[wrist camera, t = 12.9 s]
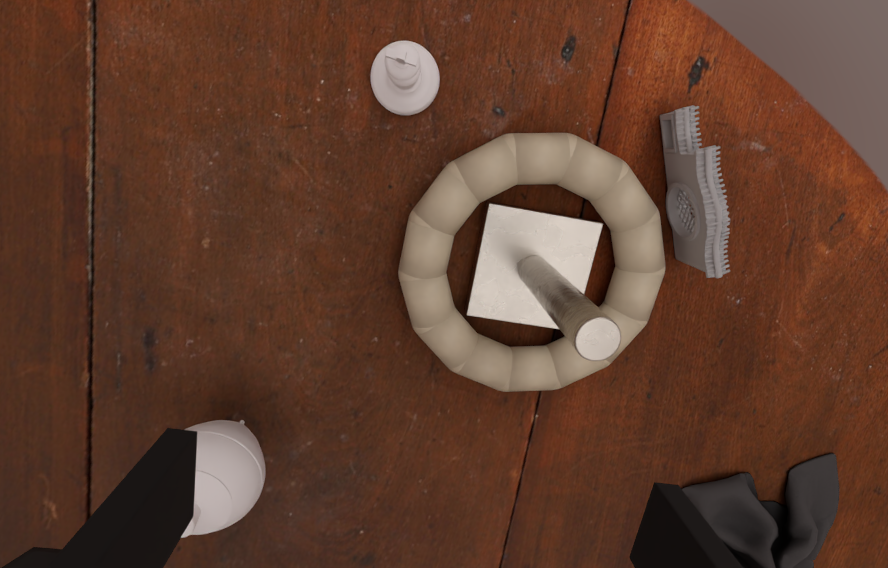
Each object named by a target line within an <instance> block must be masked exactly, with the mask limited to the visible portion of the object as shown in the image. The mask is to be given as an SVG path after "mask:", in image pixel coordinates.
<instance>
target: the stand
mask: <svg viewBox="0 0 888 568" xmlns="http://www.w3.org/2000/svg"><path fill="white" fill-rule="evenodd" d="M602 226H603V223H601V222H599V221H597V220H591V219H586V218H580V217H574V216H569V215H563V214H557V213H552V212H546V211H540V210H535V209H529V208H523V207H518V206H512V205H506V204H501V203H495V202H489V201H486V205H485V210H484V215H483V220H482V225H481V230H480V235H479V240H478V245H477V250H476V255H475V260H474V265H473V270H472V275H471V280H470V285H469V290H468V295H467V300H466V304H465V312H466V315H467V316H473V317H480V318H486V319H493V320H500V321H506V322H513V323H519V324H526V325H533V326H539V327H546V328H553V329H559V330H561V332H562V333H563V334H564V335H565V337H566V338H567V339H568V341H569V342H570V343H571V345H572V346H573V347H574V348H575V350H576V351H577V352H578V354H579V355H580V356H581V357H583V358H585V359H587V360H590V361H601V360H605V359H607V358H609V357H610V356H612V355H613V354H614V353H615V352H616V351H617V349H618V347H619V345H620V342H621V331H620V329H619V327H618V325H617V324H616V323H615V322H614V321H613V320H612V319H611V318H610V317H609V316H607V315H606V314H605V313H604V312H603V311H602V310H601V309H600V308H599V307H597V306H596V305H595V304H594V303H593V302H592V301H591V300H590V299H588V298H587V297H586V296H585V295H584V294H585V290H586V286H587V283H588V279H589V275H590V271H591V268H592V264H593V260H594V256H595V253H596V249H597V245H598V241H599V238H600V234H601V230H602Z"/></svg>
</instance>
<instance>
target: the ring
mask: <svg viewBox="0 0 888 568" xmlns="http://www.w3.org/2000/svg"><path fill="white" fill-rule="evenodd" d="M530 184H557V185H559V186H561V187H563V188H565V189H567V190H569V191H571V192H573V193H575V194H577V195H579V196H581V197H583V198H585V199H587V200H589V201H590V202H591V204H592V205H593V206H594V208H595V209H596V211H597V212H598V213H599V215H600V216H601V218H602V219H603V220H604V222H605V223H606V225H607V226H608V227H609V229H610V232H611V239H612V246H613V253H614V260H615V268H614V272H613V275H612V278H611V281H610V284H609V287H608V291H607V294H606V297H605V300H604V302H603V303H602V304H601V305H600V306H599V308H600V309H601V310H602V311H603V312H604V313H605V314H606V315H607V316H609V317H610V318H611V319H612V320H613V321H614V322H615V323H616V324H617V325H618V327H619V329H620V331H621V342H620V345H619V347H618V349H617V351H616V352H615V353H614V354H613V355H612V356H610V357H609V358H607V359H605V360H601V361H590V360H587V359H585V358H583V357H581V356H580V355H579V354H578V352H577V351H576V350H575V348H574V347H573V346H572V345H571V343H570V342H569V341H568V339H567V338H566V337H565V336H564V337H562V338H560V339H558V340H556V341H554V342H552V343H550V344H547V345H545V346H516V347H509V346H506V345H504V344H502V343H499V342H497V341H494V340H492V339H490V338H487V337H485V336H483V335H480V334H478V333H477V332H476V331H475V330H474V329H473V328H472V327H471V325H470V324H469V323H468V322H467V321H466V320H465V319H464V317H463V316H462V315H461V314H460V313H459V312H458V310H457V309H456V308H455V306H454V302H453V298H452V294H451V290H450V286H449V282H448V278H447V274H446V271H447V267H448V262H449V258H450V253H451V249H452V244H453V240H454V235H455V234H456V233H457V231H458V230H459V229H460V228H461V226H462V225H463V224H464V222H465V221H466V220H467V219H468V217H469V216H470V215H471V214H472V212H473V211H474V210H475V208H476V207H477V206H478V205H479V203H481V202H483V201H485V200H487V199H489V198H491V197H493V196H495V195H497V194H499V193H501V192H503V191H505V190H507V189H509V188H511V187H513V186H515V185H530ZM664 274H665V256H664V247H663V238H662V229H661V220H660V214H659V211H658V209H657V207H656V205H655V204H654V202H653V201H652V199H651V198H650V196H649V195H648V193H647V192H646V191H645V189H644V188H643V186H642V185H641V183H640V182H639V180H638V179H637V177H636V176H635V174H634V173H633V171H632V170H631V168H630V167H629V166H628V164H627V163H626V162H625V161H623V160H622V159H620V158H618V157H616V156H614V155H613V154H611V153H609V152H607V151H605V150H603V149H601V148H599V147H597V146H595V145H593V144H591V143H589V142H587V141H585V140H583V139H582V138H580V137H578V136H576V135H573V134H570V133H510V134H505V135H502V136H500V137H498V138H496V139H494V140H492V141H490V142H488V143H486V144H484V145H482V146H480V147H478V148H476V149H474V150H472V151H471V152H469V153H467V154H465V155H463V156H461V157H459V158H457V159H455V160H453V161H451V162H450V163H448V164H447V165H446V166H445V168H444V169H443V170H442V171H441V173H440V174H439V175H438V177H437V178H436V179H435V181H434V182H433V183H432V185H431V186H430V187H429V189H428V190H427V191H426V193H425V194H424V195H423V197H422V198H421V199H420V201H419V202H418V203H417V205H416V206H415V207H414V208H413V210H412V211H411V213H410V215H409V218H408V223H407V228H406V233H405V238H404V244H403V249H402V254H401V259H400V264H399V269H398V276H399V281H400V284H401V288H402V292H403V295H404V299H405V302H406V306H407V310H408V313H409V317H410V320H411V324H412V327H413V329H414V331H415V332H416V333H417V335H418V336H419V337H420V338H421V339H422V340H423V341H424V342H425V343H426V344H427V346H428V347H429V348H430V349H431V350H432V351H433V352H434V353H435V354H436V355H437V357H438V358H439V359H440V360H441V361H442V362H443V363H444V364H445V365H446V366H447V367H448V368H449V369H450V370H451V371H453V372H454V373H457V374H459V375H462V376H464V377H467V378H469V379H471V380H474V381H476V382H479V383H481V384H484V385H486V386H489V387H491V388H494V389H496V390H499V391H505V392H511V391H537V390H556V389H560V388H562V387H564V386H567V385H569V384H571V383H573V382H575V381H577V380H580V379H582V378H584V377H586V376H588V375H590V374H592V373H595V372H597V371H599V370H601V369H603V368H605V367H607V366H609V365H610V364H611V363H612V362H613V361H614V360H615V358H616V357H617V356H618V355H619V354H620V353H621V352H622V351H623V350H624V349H625V348H626V346H627V345H628V344H629V343H630V342H631V341H632V340H633V339H634V338H635V337H636V336H637V334H638V333H639V332H640V331H641V330H642V329H643V328H644V327H645V325H646V324H647V322H648V320H649V317H650V314H651V311H652V308H653V306H654V303H655V300H656V297H657V294H658V291H659V288H660V285H661V283H662V280H663V277H664Z"/></svg>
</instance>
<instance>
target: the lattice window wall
mask: <svg viewBox="0 0 888 568" xmlns="http://www.w3.org/2000/svg"><path fill="white" fill-rule="evenodd" d="M698 108H699V106H696V107H695V106H694V105H693V106H689V107H684V108H681V109H677V110H674V112H670V113H666V114H662V115H660V123H661V132H662V141H663V150H664V159H665V168H666V177H667V186H668V191H667V194H666V212H667V217H668V220H669V223H670V226H671V227H672V231H673V240H674V249H675V258H676V259H677V260H679V261H681V262H684V263H686V264H688V265H690V266H693V267H695V268H697V269H699V270H702V271H704V272H706V277H707V278H711V277H716V278H720V277H722V275H723V274H726V273H728V272H730V270H726V269H725V268H727V267H729V264H728V265H725V264H724V263H726V262H728V261H729V260H728V259H727V260H725V261H724V258H726V257H728V255H725V256H724V253H726V252H727V250H725V251H724V250H723V249H724V248H726V247H728V246H727V245H725V246H724V245H723V244H725V243H727V242H728V241H727V240H726V241H724V239H727V238H728V236H725V235H728V234H730V232H726V231H729V228H727V225H729V224H730V222H728V221H729V220H730V218H728V214H729V212H727V208H728V206H726V202H727V200H725V199H724V198H726V197H727V196H726V195H725V196H724V195H723V194H722V193H724V192H726V190H721V187H723V186H725V185H724V184H722V185H720V184H719V182H722V181H723V179H720V180H719V179H718V177H719V176H721V175H722V174H721V173H720V174H718V173H717V171H719V170H721V169H720V168H716V166H717V165H720V162H718V163H716V161H717V160H720V157H718V158H716V155H718V154H720V152H716V150H717V149H720V146H718V147H716V145H714V146H710V147H706V148H702V149H699V148H698V146H701V145H702V143H700V144H698V143H697V142H698V141H701V138H700V139H697V136H699V135H701V133H698V134H697V133H696V131H698V130H700V128H696V125H698V124H699V122H696V123H695V121H696V120H699V117H697V118H695V115H696V114H699V112H695V109H698ZM688 197H689V199H688ZM689 204H690V205H691V207H690V206H689ZM692 208H693V209H694V211H693V210H692ZM689 209H690V210H689ZM691 212H692V213H693V214H692V215H691ZM694 216H695V218H693V217H694Z"/></svg>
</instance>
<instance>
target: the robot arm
mask: <svg viewBox="0 0 888 568" xmlns="http://www.w3.org/2000/svg"><path fill="white" fill-rule="evenodd" d="M196 451H197V431H189V430H180V429H171V428H167V430H166V431H165V432H164V433H163V434H162V435H161V436H160V438H159V439H158V440H157V441H156V442H155V443H154V445H153V446H152V447H151V448H150V449H149V450H148V451H147V453H146V454H145V455H144V456H143V457H142V458H141V459H140V461H139V462H138V463H137V464H136V465H135V466H134V468H133V469H132V470H131V471H130V472H129V473H128V474H127V476H126V477H125V478H124V479H123V480H122V481H121V482H120V484H119V485H118V486H117V487H116V488H115V489H114V491H113V492H112V493H111V494H110V495H109V496H108V497H107V499H106V500H105V501H104V502H103V503H102V504H101V505H100V507H99V508H98V509H97V510H96V511H95V512H94V514H93V515H92V516H91V517H90V518H89V519H88V520H87V522H86V523H85V524H84V525H83V526H82V527H81V528H80V530H79V531H78V532H77V533H76V534H75V535H74V537H73V538H72V539H71V540H70V541H69V542H68V543H67V545H66V546H65V547H64V548H63V549H62V550H61V549H50V548H38V547H33V548H32V549H30V550H29V551H27V552H25V553H24V554H22V555H21V556H19V557H18V558H16V559H14V560H13V561H11V562H10V563H8V564H7V565H5V566H4V567H2V568H163V567H164V565H165V563H166V562H167V560H168V558H169V557H170V555H171V553H172V552H173V550H174V548H175V547H176V545H177V543H178V542H179V540H180V538H181V536H182V535H183V533H184V531H185V530H186V528H187V526H188V525H189V523H190V521H191V520H192V518H193V515H194V494H195V472H196ZM630 559H631V561H632V563H633V565H634V567H635V568H743V567H742V566H741V564H740V563H739V562H738V561H737V559H736V558H735V557H734V555H733V554H732V553H731V552H730V550H729V549H728V548H727V547H726V545H725V544H724V543H723V541H722V540H721V539H720V538H719V536H718V535H717V534H716V533H715V531H714V530H713V529H712V527H711V526H710V525H709V524H708V522H707V521H706V520H705V519H704V517H703V516H702V515H701V513H700V512H699V511H698V510H697V508H696V507H695V506H694V505H693V503H692V502H691V501H690V499H689V498H688V497H687V496H686V494H685V493H684V492H683V491H682V489H681V488H680V487H679V486H678V485H672V484H663V483H654V485H653V488H652V491H651V494H650V497H649V500H648V503H647V506H646V509H645V512H644V515H643V518H642V521H641V524H640V527H639V530H638V533H637V536H636V539H635V542H634V545H633V548H632V551H631V554H630Z"/></svg>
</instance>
